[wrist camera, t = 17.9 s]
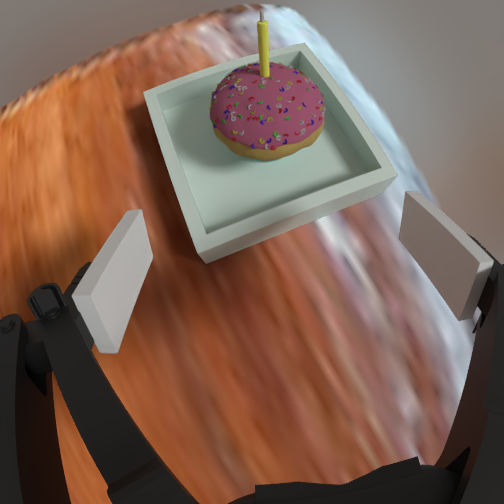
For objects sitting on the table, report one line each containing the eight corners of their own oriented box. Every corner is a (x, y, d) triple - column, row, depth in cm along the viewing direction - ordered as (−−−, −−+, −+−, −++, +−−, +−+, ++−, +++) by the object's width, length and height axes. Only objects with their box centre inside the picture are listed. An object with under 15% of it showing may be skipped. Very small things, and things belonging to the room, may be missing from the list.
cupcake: (210, 110, 27) (186, 5, 15) (301, 96, 27) (316, -9, 16) (225, 193, 25) (200, 92, 13) (329, 174, 25) (370, 72, 14)
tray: (153, 114, 28) (143, 92, 25) (301, 66, 29) (304, 42, 26) (206, 264, 25) (197, 253, 21) (383, 192, 26) (398, 174, 22)
